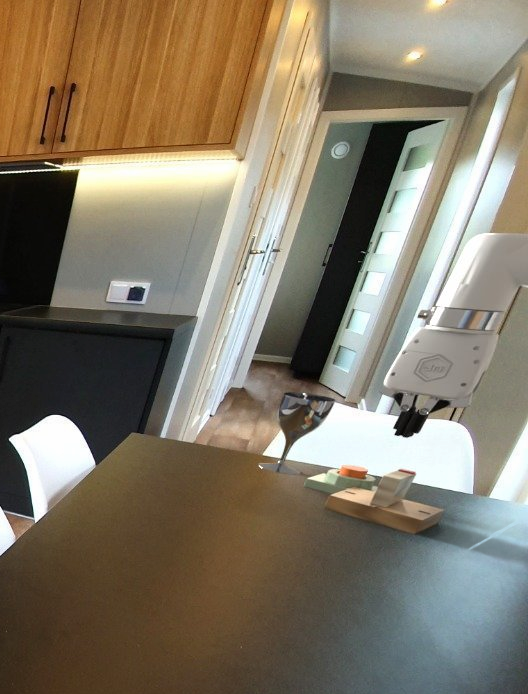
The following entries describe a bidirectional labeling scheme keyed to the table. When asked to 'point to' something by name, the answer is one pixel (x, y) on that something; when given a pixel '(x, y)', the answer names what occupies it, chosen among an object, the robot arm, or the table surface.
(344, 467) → the button
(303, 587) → the table surface
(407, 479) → the holder
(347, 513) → the holder base
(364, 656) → the table surface
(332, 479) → the button box
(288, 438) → the wine glass
